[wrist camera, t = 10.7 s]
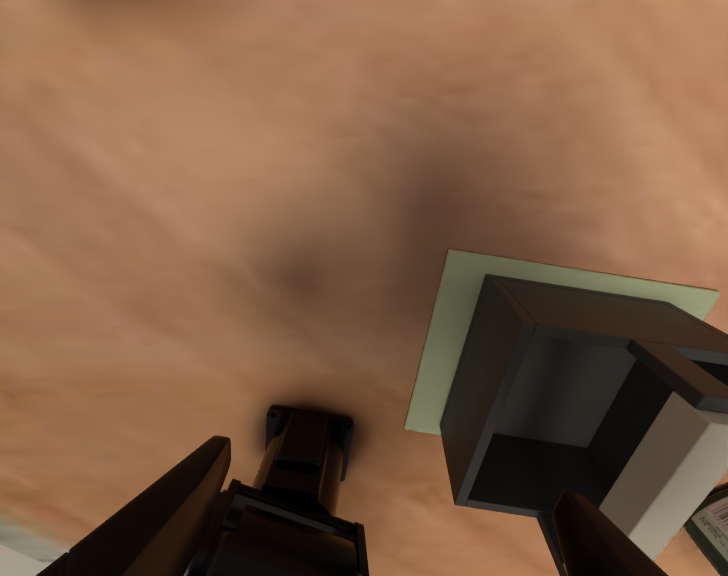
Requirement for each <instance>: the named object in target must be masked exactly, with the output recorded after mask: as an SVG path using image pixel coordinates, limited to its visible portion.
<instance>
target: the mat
mask: <svg viewBox="0 0 728 576" xmlns="http://www.w3.org/2000/svg"><path fill="white" fill-rule="evenodd" d="M485 274H491V275H498V276H504V277H510V278H517V279H523V280H530V281H536V282H543V283H549V284H556V285H562V286H568V287H575V288H581V289H588V290H594V291H601V292H607V293H613V294H620V295H626V296H633V297H639V298H646V299H652V300H659V301H665V302H669V303H671V304H673V305H675V306H677V307H678V308H680V309H682V310H684V311H686V312H688V313H689V314H691V315H693V316H695V317H697V318H698V319H700V320H702V321H704V320H705V318H706V317H707V315H708V313H709V312H710V310H711V308H712V307H713V305H714V304H715V302H716V300H717V299H718V297H719V295H720V294H721V292H720V291H717V290H711V289H705V288H698V287H692V286H685V285H679V284H672V283H666V282H659V281H653V280H646V279H640V278H633V277H627V276H620V275H614V274H607V273H601V272H595V271H588V270H582V269H575V268H569V267H562V266H556V265H549V264H543V263H536V262H530V261H523V260H517V259H510V258H504V257H497V256H491V255H484V254H478V253H471V252H465V251H458V250H452V249H448V252H447V256H446V261H445V265H444V269H443V273H442V277H441V281H440V285H439V289H438V293H437V297H436V301H435V305H434V309H433V313H432V317H431V321H430V325H429V329H428V333H427V337H426V341H425V345H424V349H423V353H422V357H421V361H420V365H419V369H418V373H417V377H416V381H415V385H414V389H413V393H412V397H411V401H410V405H409V409H408V413H407V417H406V421H405V425H404V429H405V430H412V431H418V432H424V433H431V434H437V435H441V430H440V426H439V425H440V421H441V418H442V415H443V411H444V408H445V405H446V402H447V398H448V395H449V392H450V388H451V385H452V382H453V379H454V375H455V372H456V369H457V366H458V362H459V359H460V356H461V352H462V349H463V346H464V343H465V339H466V336H467V333H468V329H469V326H470V323H471V320H472V316H473V313H474V310H475V306H476V303H477V300H478V297H479V293H480V290H481V287H482V284H483V280H484V277H485Z"/></svg>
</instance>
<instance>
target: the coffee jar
mask: <svg viewBox="0 0 728 576" xmlns="http://www.w3.org/2000/svg"><path fill="white" fill-rule="evenodd" d="M685 523H686V528H687V531H688V533H689V535H690V537H691V538H692V540H693V541H694V542H695V544H696V545H697V546H698V548H699V549H700V550H701V552H702V553H703V554H704V555H705V557H706V558H707V559H708V561H709V562H710V563H711V564H712V566H713V567H714V568H715V570H716V571H717V572H718V573H719V575H720V576H728V489H725V490H722V491H720V492H717V493H715V494H713V495H711V496H709V497H707V498H705V499H704V501H703V502H702V503H701V504H700V505H699V506H698V507H697V509H696V510H695V511H694V512H693V514H692V515H691V516H690V517H689V519H688V520H687V521H686V522H685Z"/></svg>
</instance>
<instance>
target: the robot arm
mask: <svg viewBox="0 0 728 576" xmlns="http://www.w3.org/2000/svg"><path fill="white" fill-rule="evenodd" d="M273 412H274V413H276V414H274V413H273ZM346 424H349V425H346ZM353 428H354V421H353V419H351V418H349V417H343V416H337V415H331V414H324V413H318V412H311V411H305V410H298V409H292V408H286V407H279V406H271V407H270V408H269V409H268V412H267V421H266V450H265V455H264V458H263V460H262V463H261V465H260V468H259V471H258V473H257V476H256V478H255V481H254V483H253V486H252V487H250V486H247V485H244V484H242V483H241V481H238V480H235V479H232V481H231V483H230V485H229V488H228V490H223V492H220V491H221V488H222V485H223V483H224V480H225V477H226V475H227V472H228V469H229V466H230V462H231V442H230V438H228V437H224V436H213V437H212V438H210V439H209V440H208V441H206V442H205V443H204V444H203V445H201V446H200V447H199V448H198V449H196V450H195V451H194V452H192V453H191V454H190V455H189V456H187V457H186V458H185V459H184V460H182V461H181V462H180V463H179V464H177V465H176V466H175V467H173V468H172V469H171V470H170V471H168V472H167V473H166V474H165V475H163V476H162V477H161V478H160V479H158V480H157V481H156V482H154V483H153V484H152V485H151V486H149V487H148V488H147V489H146V490H144V491H143V492H142V493H140V494H139V495H138V496H137V497H135V498H134V499H133V500H132V501H130V502H129V503H128V504H127V505H125V506H124V507H123V508H121V509H120V510H119V511H118V512H116V513H115V514H114V515H113V516H111V517H110V518H109V519H108V520H106V521H105V522H104V523H102V524H101V525H100V526H99V527H97V528H96V529H95V530H94V531H92V532H91V533H90V534H89V535H87V536H86V537H85V538H83V539H82V540H81V541H80V542H78V543H77V544H76V545H75V546H73V547H72V548H71V549H70V550H69V553H68V552H66V553H64V554H63V555H62V556H60V557H59V558H58V559H57V560H55V561H54V562H53V563H52V564H50V565H49V566H48V567H46V568H45V569H44V570H43V571H41V572H40V573H39V574H37V575H36V576H369V570H368V560H367V551H366V541H365V532H364V525H363V524H360V523H357V522H355V523H352V522H349V521H346V520H343V519H341V518H338V517H335V514H336V506H337V499H338V492H339V485H340V482H342V481H344V479H345V475H346V469H347V463H348V457H349V451H350V445H351V440H352V434H353ZM553 521H554V525H555V529H556V533H557V537H558V540H559V544H560V548H561V552H562V556H563V560H564V563H565V567H566V571H567V575H568V576H668V575H667V574H666V573H665V572H664V571H663V570H662V569H661V568H660V567H659V566H658V565H657V564H656V563H655V562H653V561H652V560H651V559H650V558H649V557H648V556H647V555H646V554H645V553H644V552H643V551H642V550H641V549H640V548H639V547H638V546H637V545H636V544H635V543H634V542H633V541H632V540H631V539H630V538H629V537H628V536H626V535H625V534H624V533H623V532H622V531H621V530H620V529H619V528H618V527H617V526H616V525H615V524H614V523H613V522H612V521H611V520H610V519H609V518H608V517H607V516H606V515H605V514H604V513H603V512H602V511H601V510H599V509H598V508H597V507H596V506H595V505H594V504H593V503H592V502H591V501H590V500H589V499H588V498H587V497H586V496H585V495H584V494H582V493H581V492H578V491H571V490H565V491H563V492H562V494H561V495H560V497H559V499H558V501H557V503H556V504H555V506H554V508H553Z"/></svg>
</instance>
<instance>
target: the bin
mask: <svg viewBox="0 0 728 576" xmlns="http://www.w3.org/2000/svg"><path fill="white" fill-rule="evenodd" d="M439 426H440V430H441V437H442V442H443V447H444V452H445V458H446V463H447V468H448V473H449V479H450V484H451V489H452V494H453V500H454V504H455V505H458V506H465V507H471V508H478V509H484V510H490V511H497V512H503V513H510V514H516V515H522V516H529V517H535V518H537V520H538V523H539V525H540V528H541V530H542V533H543V535H544V538H545V540H546V543H547V545H548V547H549V550H550V552H551V555H552V557H553V560H554V562H555V565H556V567H557V570H558V572H559V575H560V576H568V575H567V571H566V567H565V563H564V560H563V556H562V552H561V548H560V544H559V540H558V537H557V533H556V529H555V525H554V521H553V508H554V506H555V504H556V503H557V501H558V499H559V497H560V495H561V494H562V492H563V491H565V490H571V491H578V492H581V493H582V494H584V495H585V496H586V497H587V498H588V499H589V500H590V501H591V502H592V503H593V504H594V505H595V506H596V507H597V508H598V509H599V510H601V511H602V512H603V513H604V514H605V515H606V516H607V517H608V518H609V519H610V520H611V521H612V522H613V523H614V524H615V525H616V526H617V527H618V528H619V529H620V530H621V531H622V532H623V533H624V534H625V535H626V536H628V537H629V538H630V539H631V540H632V541H633V542H634V543H635V544H636V545H637V546H638V547H639V548H640V549H641V550H642V551H643V552H644V553H645V554H646V555H647V556H648V557H649V558H650V559H651V560H652V561H653V562H654V561H655V559H656V558H657V557H658V556H659V554H660V553H661V552H662V551H663V549H664V548H665V547H666V546H667V544H668V543H669V542H670V541H671V540H672V538H673V537H674V536H675V535H676V533H677V532H678V531H679V530H680V528H681V527H682V526H683V525H684V524H685V522H686V521H687V520H688V519H689V517H690V516H691V515H692V514H693V512H694V511H695V510H696V509H697V507H698V506H699V505H700V504H701V503H702V501H703V500H704V499H705V498H706V496H707V495H708V494H709V493H710V491H711V490H712V489H713V488H714V487H715V485H716V484H717V483H718V482H719V480H720V479H721V478H722V477H723V475H724V474H725V473H726V472H727V471H728V334H726V333H724V332H722V331H720V330H718V329H717V328H715V327H713V326H711V325H709V324H708V323H706V322H704V321H702V320H700V319H698V318H697V317H695V316H693V315H691V314H689V313H688V312H686V311H684V310H682V309H680V308H678V307H677V306H675V305H673V304H671V303H669V302H665V301H659V300H652V299H646V298H639V297H633V296H626V295H620V294H613V293H607V292H601V291H594V290H588V289H581V288H575V287H568V286H562V285H556V284H549V283H543V282H536V281H530V280H523V279H517V278H510V277H504V276H498V275H491V274H485V277H484V280H483V284H482V287H481V290H480V293H479V297H478V300H477V303H476V306H475V310H474V313H473V316H472V320H471V323H470V326H469V329H468V333H467V336H466V339H465V343H464V346H463V349H462V352H461V356H460V359H459V362H458V366H457V369H456V372H455V375H454V379H453V382H452V385H451V388H450V392H449V395H448V398H447V402H446V405H445V408H444V411H443V415H442V418H441V421H440V425H439Z"/></svg>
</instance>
